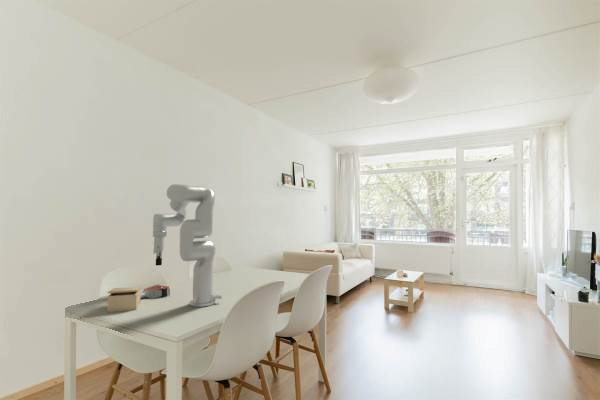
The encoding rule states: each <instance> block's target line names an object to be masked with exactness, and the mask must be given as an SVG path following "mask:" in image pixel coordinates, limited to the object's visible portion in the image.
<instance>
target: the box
mask: <svg viewBox="0 0 600 400" xmlns="http://www.w3.org/2000/svg"><path fill="white" fill-rule="evenodd" d="M140 294H141V289H139V290H138V291H137V292H122V293H109V295H108V296H107V308H106V312H107V313H109V312H121V311H124V312H125V311H132V310H133V311H134V310H137V309H138V307H139V306H140V304H141V299H140Z"/></svg>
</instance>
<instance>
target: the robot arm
mask: <svg viewBox="0 0 600 400" xmlns="http://www.w3.org/2000/svg"><path fill="white" fill-rule="evenodd" d="M166 197H167V199H169V200H170V202H169V206H170V208H171V209H172V210H173V211H175V212H176V213H155V214H154V215H153V218H152V219H153V220H152V238H153V239H154V240H153V251H152V252H153V254H154V255H155V266H162V263H163V257H162V254H164V249H165V238H167V232H168V231H167V228H169V227H179V226H180V228H179V256H180V259H181V260H182V261H184V262H195V264H194V266H193V270H192V299H191V300H190V301H189V306H192V307H194V308H195V307H196V308H200V307H204V308H205V307H209V306H212V305H214V304H216V300H222V297H223V296H222V294H214V293H213V292H214V291H213V282H214V281H213V280H214V279H213V278H214V276H213V275H214V274H213V273H214V260H215V255H216V246H215V244H214V242H212V241H210V240H196V241H194V240H195V239H205V238H209V237H211V236H212V234H213V221H214V219H213V215H214V214H213V211H214V205H215V198H216V197H215V193H214V191H213V189H211V188H209V187H206V186H198V185H197V186H196V185H188V184H179V183H173V184H171V185H169V186H168V188H167V190H166ZM190 203H197V204H198V205H197V206H196V207H195V208H196V209H195V214H194V216H195V217H194V219H186V216H187V209H186V207H187V206H188V205H190Z"/></svg>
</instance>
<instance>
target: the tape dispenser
mask: <svg viewBox="0 0 600 400" xmlns="http://www.w3.org/2000/svg"><path fill="white" fill-rule="evenodd" d="M170 295H171V292H170V285H169V286H168V285H161V284H156V285H152V286H149V287H146V288H143V291H142V292H140V300H141V299H143V298H149V299H151V298H153V299H154V298H155V299H157V298H158V297H161V298H166V297H167V296H168V297H170ZM168 297H167V298H168Z"/></svg>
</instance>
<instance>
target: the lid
mask: <svg viewBox="0 0 600 400" xmlns="http://www.w3.org/2000/svg"><path fill="white" fill-rule="evenodd" d="M139 289H141V286H132V287H131V286H130V287H117V288H116V287H115V288H112V289H110V290H108V291H107V294H111V293H122V292H137V291H138V290H139Z"/></svg>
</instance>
